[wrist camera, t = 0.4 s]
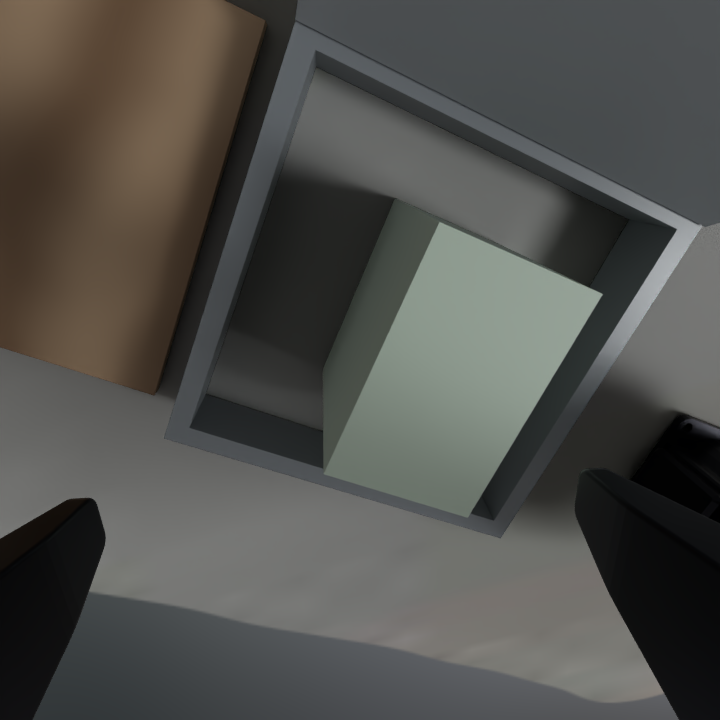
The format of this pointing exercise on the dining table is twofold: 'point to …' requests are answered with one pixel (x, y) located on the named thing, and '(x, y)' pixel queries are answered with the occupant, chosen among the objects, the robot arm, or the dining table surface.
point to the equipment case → (516, 144)
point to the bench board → (112, 171)
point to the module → (442, 360)
